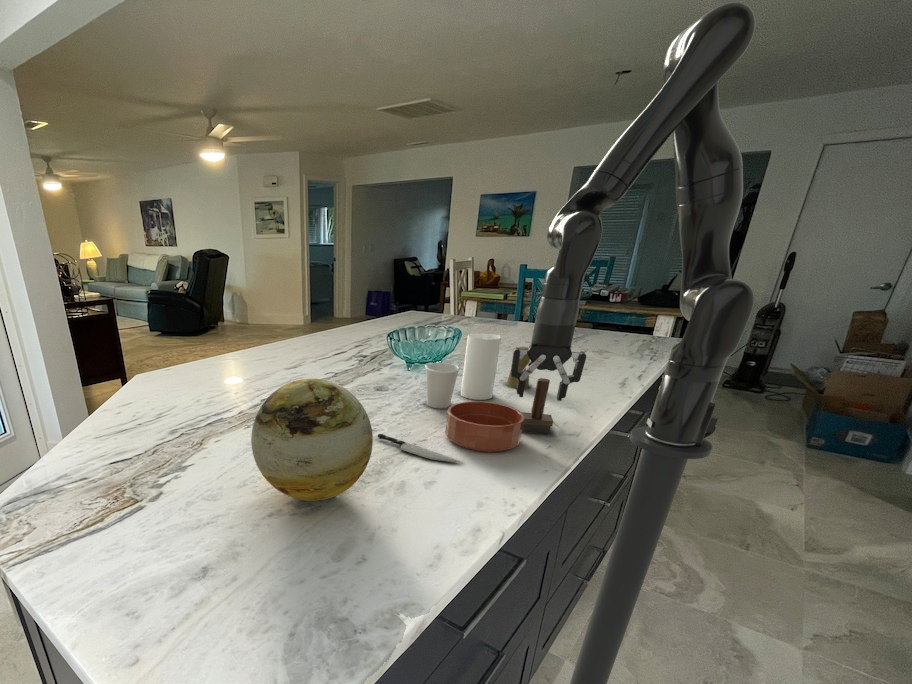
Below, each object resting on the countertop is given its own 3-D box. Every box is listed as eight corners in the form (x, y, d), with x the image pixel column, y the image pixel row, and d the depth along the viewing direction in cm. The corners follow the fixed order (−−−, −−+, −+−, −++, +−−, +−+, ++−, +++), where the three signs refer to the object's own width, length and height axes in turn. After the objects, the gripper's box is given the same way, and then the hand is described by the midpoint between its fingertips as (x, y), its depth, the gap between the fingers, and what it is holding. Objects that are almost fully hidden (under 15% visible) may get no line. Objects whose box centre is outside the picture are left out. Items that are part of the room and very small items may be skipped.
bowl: (517, 430, 105) (522, 405, 102) (521, 458, 92) (526, 430, 89) (447, 422, 110) (450, 398, 107) (441, 448, 97) (444, 421, 94)
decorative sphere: (271, 463, 91) (265, 363, 83) (373, 470, 88) (378, 366, 80) (240, 519, 74) (229, 398, 65) (366, 530, 70) (371, 404, 62)
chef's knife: (452, 468, 88) (460, 462, 90) (453, 463, 88) (460, 457, 90) (370, 441, 100) (378, 436, 102) (370, 436, 100) (379, 431, 102)
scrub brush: (548, 427, 106) (559, 378, 101) (550, 435, 102) (561, 383, 97) (517, 424, 108) (527, 375, 103) (518, 431, 104) (528, 381, 99)
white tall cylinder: (473, 388, 133) (481, 331, 126) (498, 396, 127) (508, 336, 120) (454, 394, 129) (461, 335, 122) (478, 401, 123) (487, 340, 116)
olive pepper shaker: (522, 389, 132) (529, 350, 127) (502, 385, 136) (508, 347, 131) (532, 385, 135) (539, 347, 131) (512, 380, 139) (518, 344, 135)
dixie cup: (432, 411, 116) (436, 372, 112) (415, 401, 124) (419, 364, 119) (461, 407, 119) (466, 369, 115) (443, 398, 126) (447, 361, 122)
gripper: (518, 321, 94) (504, 400, 101) (599, 325, 90) (579, 406, 97) (516, 316, 100) (504, 390, 107) (592, 319, 96) (573, 396, 103)
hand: (539, 397), depth 102 cm, fingers open, 7 cm apart
